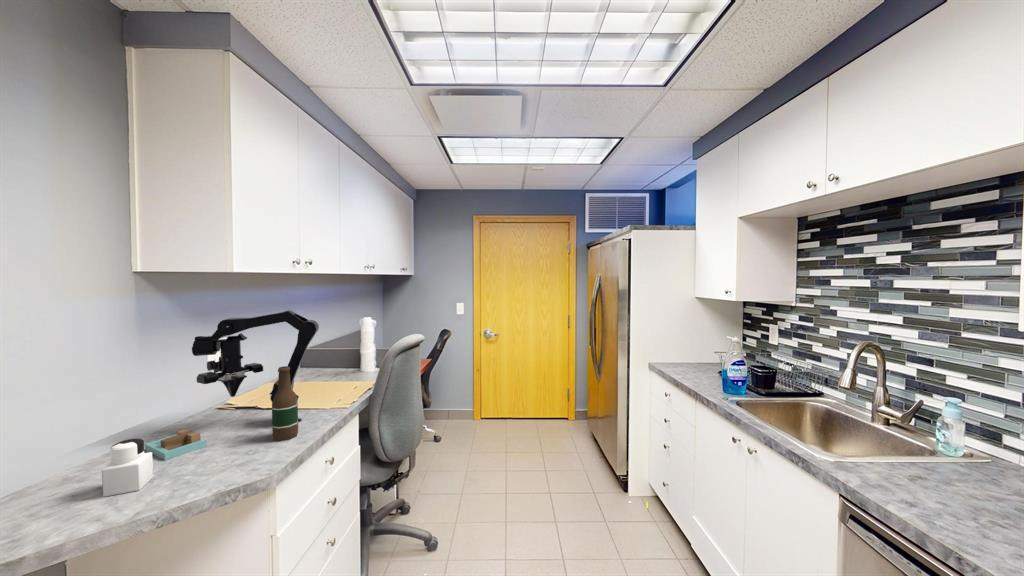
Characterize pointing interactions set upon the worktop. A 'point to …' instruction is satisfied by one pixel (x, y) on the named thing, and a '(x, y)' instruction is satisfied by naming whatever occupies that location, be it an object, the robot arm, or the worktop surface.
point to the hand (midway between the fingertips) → (232, 396)
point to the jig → (168, 454)
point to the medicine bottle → (127, 468)
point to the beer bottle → (284, 408)
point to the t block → (180, 439)
